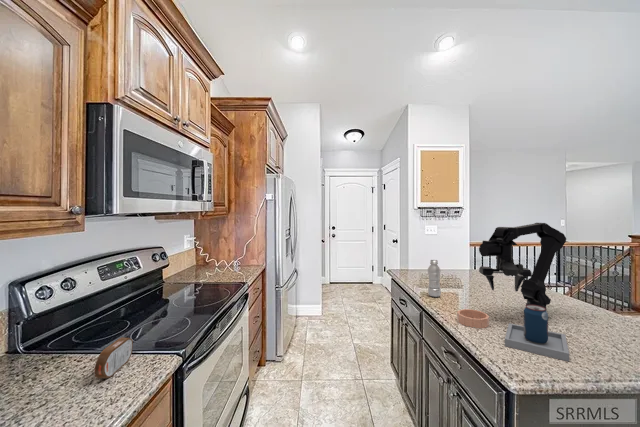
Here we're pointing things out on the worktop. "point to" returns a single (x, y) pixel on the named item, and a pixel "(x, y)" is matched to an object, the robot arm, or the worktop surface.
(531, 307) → the soda can
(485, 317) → the ring holder
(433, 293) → the plastic bottle
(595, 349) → the worktop surface
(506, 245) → the robot arm
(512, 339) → the tray
